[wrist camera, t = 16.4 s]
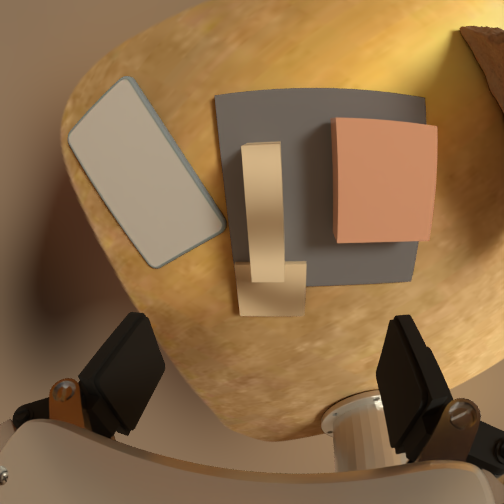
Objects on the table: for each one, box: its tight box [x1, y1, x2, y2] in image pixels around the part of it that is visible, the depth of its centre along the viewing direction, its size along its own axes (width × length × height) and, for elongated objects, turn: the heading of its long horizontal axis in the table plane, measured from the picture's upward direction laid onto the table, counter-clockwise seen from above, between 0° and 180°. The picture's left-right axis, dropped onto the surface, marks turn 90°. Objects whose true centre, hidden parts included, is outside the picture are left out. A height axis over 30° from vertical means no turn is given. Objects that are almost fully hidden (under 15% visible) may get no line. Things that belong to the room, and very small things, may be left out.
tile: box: [330, 118, 438, 243], centre depth 16 cm, size 2×7×8 cm
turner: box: [234, 141, 307, 316], centre depth 19 cm, size 14×6×3 cm, turn 4°
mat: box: [215, 88, 426, 286], centre depth 19 cm, size 15×15×1 cm
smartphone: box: [68, 76, 226, 268], centre depth 20 cm, size 8×1×15 cm
